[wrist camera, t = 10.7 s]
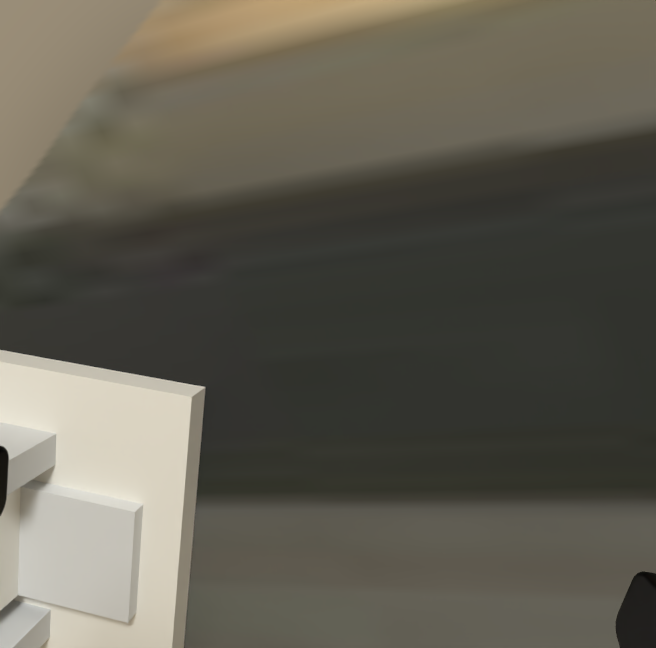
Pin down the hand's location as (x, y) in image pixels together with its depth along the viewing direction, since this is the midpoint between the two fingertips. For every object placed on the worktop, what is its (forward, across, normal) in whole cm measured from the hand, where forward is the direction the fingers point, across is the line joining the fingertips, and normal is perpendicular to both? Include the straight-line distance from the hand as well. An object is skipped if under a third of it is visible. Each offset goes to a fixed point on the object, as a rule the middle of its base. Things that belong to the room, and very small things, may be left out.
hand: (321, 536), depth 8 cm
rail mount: (+14, +12, +11) cm, 21 cm away
